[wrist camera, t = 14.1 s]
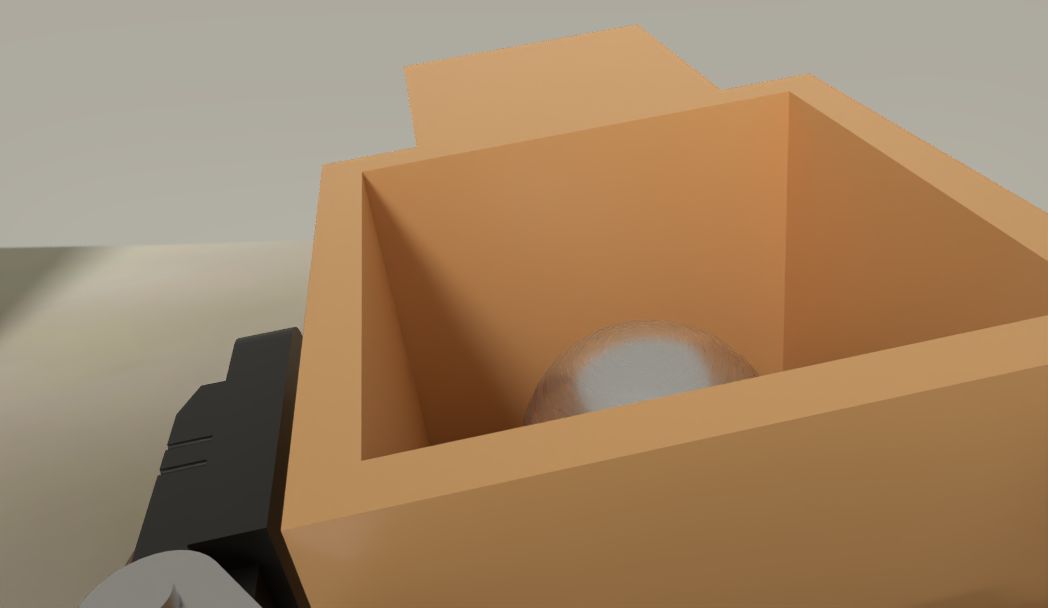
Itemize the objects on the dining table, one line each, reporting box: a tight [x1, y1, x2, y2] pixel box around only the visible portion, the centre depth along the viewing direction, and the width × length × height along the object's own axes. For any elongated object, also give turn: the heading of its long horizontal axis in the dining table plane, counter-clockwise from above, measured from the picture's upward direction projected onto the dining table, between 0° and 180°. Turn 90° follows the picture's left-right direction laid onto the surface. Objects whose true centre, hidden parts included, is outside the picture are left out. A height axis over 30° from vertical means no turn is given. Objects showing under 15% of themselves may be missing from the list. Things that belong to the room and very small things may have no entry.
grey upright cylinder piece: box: [522, 319, 760, 427], centre depth 11 cm, size 3×3×8 cm
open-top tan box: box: [281, 25, 1048, 608], centre depth 13 cm, size 10×6×10 cm, turn 10°
